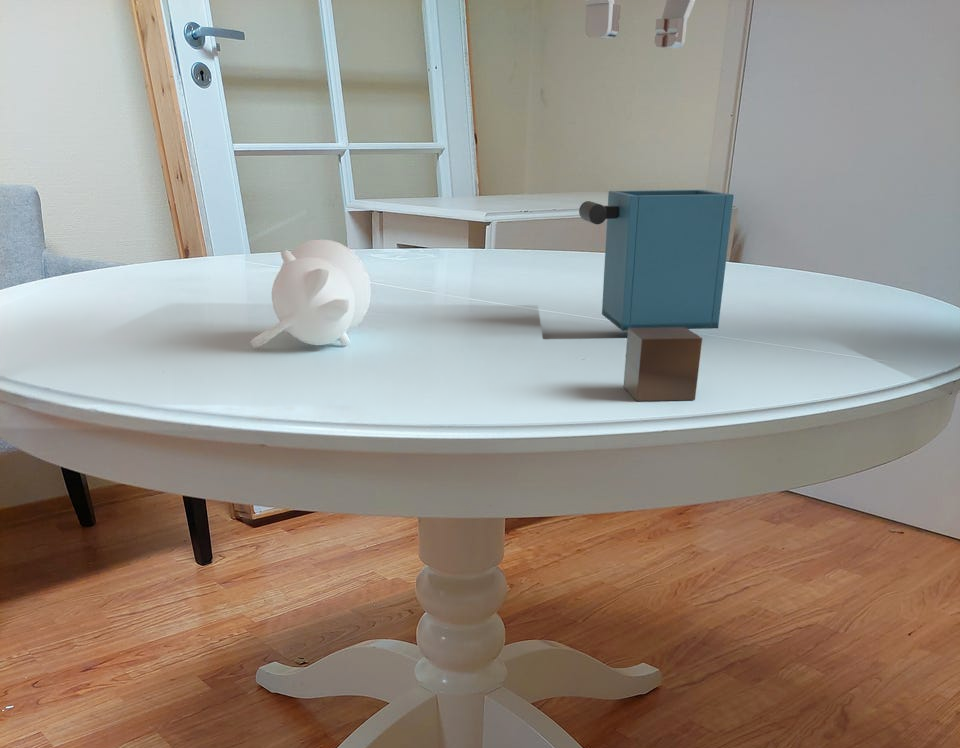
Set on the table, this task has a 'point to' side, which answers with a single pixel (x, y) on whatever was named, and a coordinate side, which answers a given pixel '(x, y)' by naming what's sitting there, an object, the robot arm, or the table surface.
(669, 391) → the block
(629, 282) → the tub
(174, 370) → the table surface
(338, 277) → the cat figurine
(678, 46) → the robot arm
